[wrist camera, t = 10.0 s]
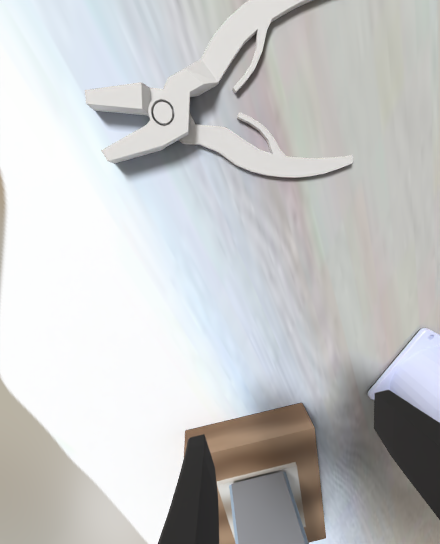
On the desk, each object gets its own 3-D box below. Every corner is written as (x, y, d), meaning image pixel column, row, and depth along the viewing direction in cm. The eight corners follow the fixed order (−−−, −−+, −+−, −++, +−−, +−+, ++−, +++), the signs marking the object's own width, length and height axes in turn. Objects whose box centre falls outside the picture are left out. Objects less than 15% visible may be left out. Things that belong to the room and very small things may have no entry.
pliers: (361, 165, 15) (124, 218, 14) (346, 168, 16) (130, 216, 16) (359, -52, 12) (54, 10, 11) (340, -23, 13) (71, 32, 13)
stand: (185, 430, 22) (183, 463, 19) (301, 402, 22) (316, 431, 19) (220, 531, 27) (223, 568, 24) (314, 508, 27) (327, 542, 24)
